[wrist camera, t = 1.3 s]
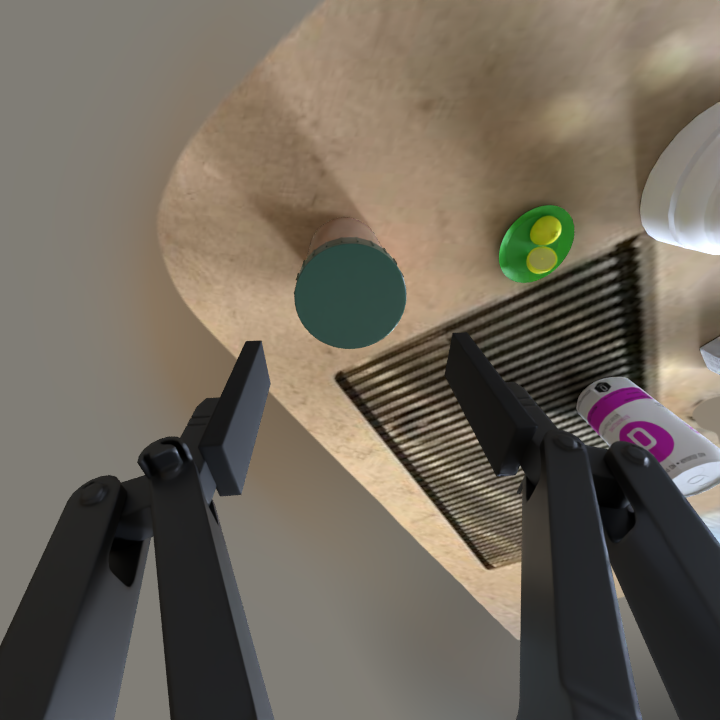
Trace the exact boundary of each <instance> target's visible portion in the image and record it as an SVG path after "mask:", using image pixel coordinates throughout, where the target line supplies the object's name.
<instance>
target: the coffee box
mask: <svg viewBox="0 0 720 720" xmlns="http://www.w3.org/2000/svg"><path fill="white" fill-rule="evenodd" d="M700 352H701V354H702V356H703V359H704V361H705V363H706V365H707V367H708V369H709V370H711V371H713V372H715V373H717V374H719V375H720V336H719V337H718V338H716V339H714V340H713V341H711V342H709V343H708V344H706V345H704V346H703V347H701V348H700Z"/></svg>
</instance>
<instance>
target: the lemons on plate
mask: <svg viewBox="0 0 720 720" xmlns="http://www.w3.org/2000/svg"><path fill="white" fill-rule="evenodd" d="M573 239H574V224H573V220H572V218H571V216H570V215H569V213H568V212H567V211H565V210H564V209H563V208H560V207H558V206H553V205H546V206H540V207H537V208H534V209H532V210H530V211H528V212H526V213H525V214H524V215H522V216H521V217H519V218H518V219H517V220H516V221H515V222H514V223H513V224H512V226H511V227H510V228H509V229H508V231H507V233H506V234H505V236H504V238H503V241H502V243H501V246H500V251H499V263H500V267H501V269H502V271H503V273H504V274H505V275H506V276H507V277H508V278H509V279H511V280H513V281H516V282H521V283H527V282H533V281H537V280H539V279H541V278H544V277H545V276H547V275H548V274H550V273H551V272H553V271H554V270H555V269H556V268H557V267H558V266H559V265H560V264H561V263H562V262H563V260H564V259H565V257H566V256H567V254H568V252H569V250H570V248H571V246H572V243H573Z"/></svg>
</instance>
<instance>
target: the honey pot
mask: <svg viewBox="0 0 720 720" xmlns="http://www.w3.org/2000/svg"><path fill="white" fill-rule="evenodd" d="M640 215H641V222H642V225H643V227H644V229H645V230H646V232H647V234H648V235H650V236H651V237H653V238H654V239H656V240H657V241H661V242H665V243H668V244H672V245H676V246H680V247H684V248H688V249H691V250H697V251H700V252H703V253H709V254H715V255H720V102H718V103H716V104H715V105H713V106H711V107H710V108H708V109H707V110H705V111H704V112H702V113H701V114H699V115H698V116H696V117H695V118H694V119H693V120H692V121H691V122H690V123H689V124H688V125H687V126H686V127H685V128H683V129H682V130H681V131H680V132H679V133H678V134H677V135H676V136H675V138H674V139H673V140H672V141H671V143H670V144H669V145H668V146H667V148H666V149H665V150H664V151H663V153H662V154H661V155H660V157H659V159H658V161H657V162H656V164H655V166H654V167H653V169H652V171H651V172H650V174H649V177H648V180H647V182H646V185H645V187H644V190H643V193H642V199H641V206H640Z"/></svg>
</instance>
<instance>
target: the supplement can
mask: <svg viewBox="0 0 720 720" xmlns="http://www.w3.org/2000/svg"><path fill="white" fill-rule="evenodd" d="M576 409H577V411H578V413H579V414H580V415H581V417H582V418H583V419H584V420H585V421H586V422H587V423H588V424H589V425H590V426H591V427H592V428H593V429H594V430H595V431H596V432H597V433H598V434H599V435H600V436H601V438H602V439H603V440H604V441H605V442H606V443H607V444H608V445H609V446H611V445H612V443H614V442H616V441H626V442H630V443H634V444H636V445H638V446H640V447H643V448H644V449H646V450H647V451H649V452H650V453H651V454H652V455H653V456H654V457H655V458H656V459H657V460H658V462H659V463H660V464H661V466H662V467H663V468H664V470H665V471H666V472H667V474H668V475H669V476H670V478H671V479H672V480H673V482H674V483H675V484H676V486H677V487H678V488H679V490H680V491H681V492H682V494H683V495H684V497H685V498H687V497H690V496H694V495H697V494H700V493H702V492H704V491H707V490H709V489H711V488H713V487H714V486H716V485H718V484H719V483H720V448H718V447H717V446H716V445H714V444H713V443H712V442H710V441H709V440H708V439H707V438H705V437H704V436H703V435H701V434H700V433H699V432H697V431H696V430H695V429H693V428H692V427H691V426H689V425H688V424H687V423H685V422H684V421H683V420H681V419H680V418H679V417H677V416H676V415H675V414H674V413H672V412H671V411H670V410H668V409H667V408H666V407H664V406H663V405H662V404H660V403H659V402H658V401H656V400H655V399H654V398H652V397H651V396H650V395H648V394H647V393H646V392H645V391H643V390H642V389H641V388H639V387H638V386H637V385H635V384H634V383H633V382H631V381H630V380H629V379H627V378H624V377H608V378H603V379H601V380H598V381H596V382H594V383H592V384H591V385H589V386H588V387H587V388H586V389H585V390H584V391H582V393H581V394H580V396H579V398H578V402H577V407H576Z"/></svg>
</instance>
